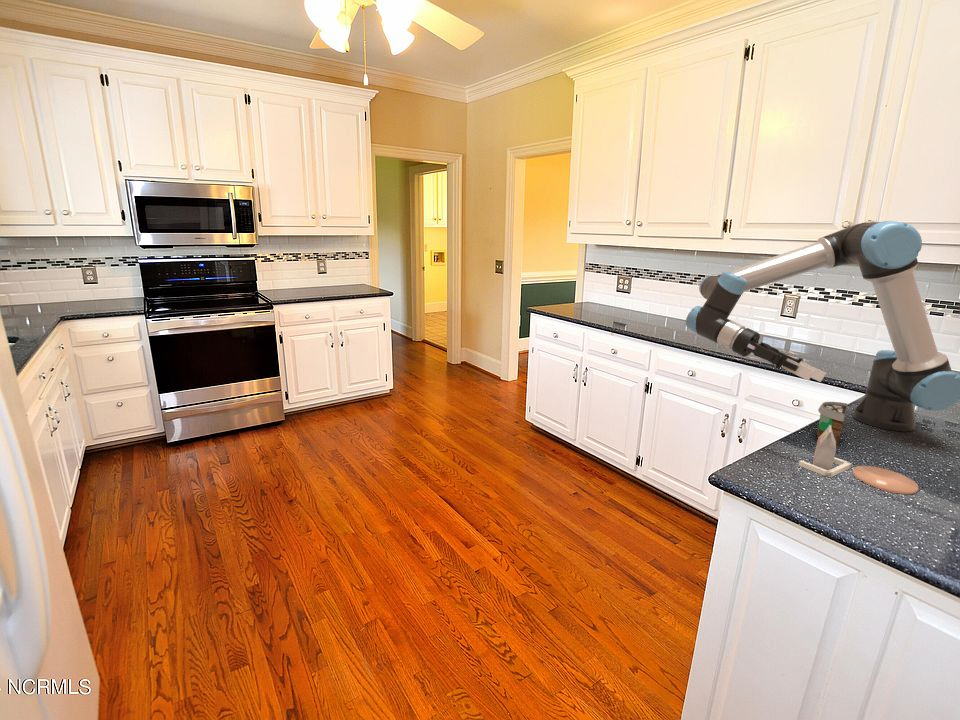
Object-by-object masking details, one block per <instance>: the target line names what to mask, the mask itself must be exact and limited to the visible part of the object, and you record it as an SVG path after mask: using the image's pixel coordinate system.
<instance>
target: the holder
mask: <svg viewBox="0 0 960 720" xmlns="http://www.w3.org/2000/svg"><path fill="white" fill-rule="evenodd" d="M833 464H836V465H837V466H836V467H832V469H830V470H825V469H823V468H820V467H817V466H815V465H813V463H812V464H811V463H809V462H807V461H804V460H799V461H798V464H797V465H798V466H799V467H801V468H802V469H803V468H804V469H806V470H809V471H811V472H814V473H816V474H818V475H822V476H824V477H825V478H826V477H827V478H828V479H830V478H832V477H834V476H836V475H839V474H840V473H843V472H845V471H847V470H849V469H851V468H852V466H853V463H852V462H849V461H848V460H843V459H841V458H838V457H834V461H833Z"/></svg>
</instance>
